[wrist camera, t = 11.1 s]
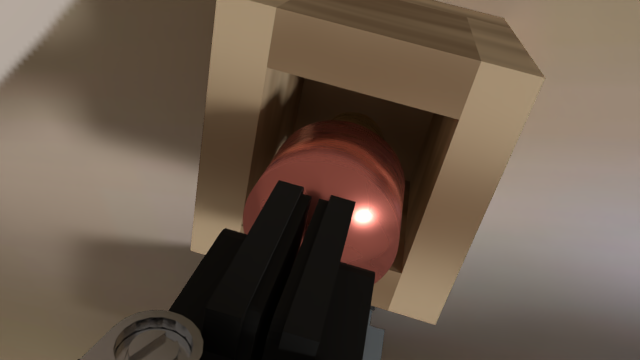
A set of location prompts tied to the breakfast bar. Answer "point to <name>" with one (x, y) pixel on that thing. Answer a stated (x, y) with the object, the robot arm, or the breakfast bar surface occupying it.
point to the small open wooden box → (377, 103)
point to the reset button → (343, 184)
